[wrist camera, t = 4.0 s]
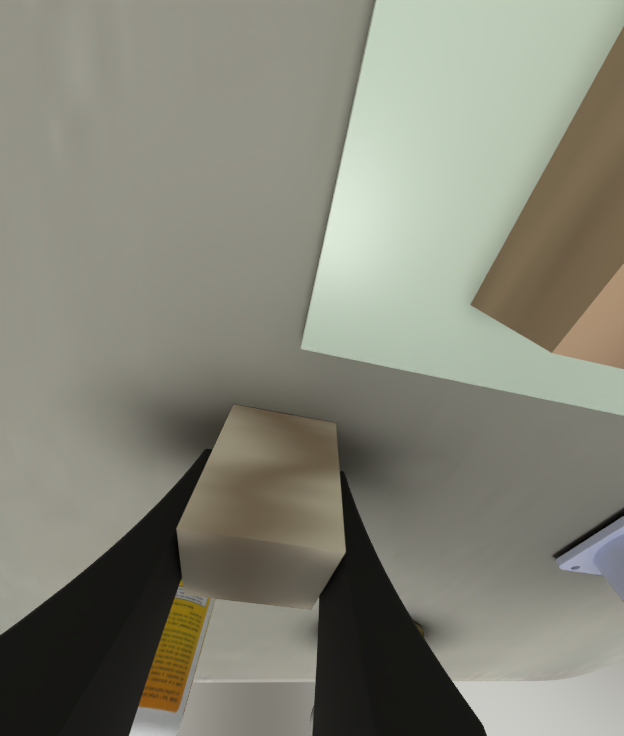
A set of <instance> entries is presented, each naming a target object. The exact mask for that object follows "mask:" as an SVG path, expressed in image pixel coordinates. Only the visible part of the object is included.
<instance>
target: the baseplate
mask: <svg viewBox="0 0 624 736" xmlns="http://www.w3.org/2000/svg"><path fill="white" fill-rule="evenodd" d="M623 26H624V0H375V2H374V6H373V11H372V16H371V20H370V25H369V29H368V34H367V39H366V43H365V48H364V53H363V57H362V62H361V67H360V71H359V76H358V81H357V85H356V90H355V95H354V99H353V104H352V109H351V113H350V118H349V123H348V127H347V132H346V137H345V141H344V146H343V151H342V155H341V160H340V164H339V169H338V174H337V178H336V183H335V188H334V192H333V197H332V202H331V206H330V211H329V216H328V220H327V225H326V230H325V234H324V239H323V244H322V248H321V253H320V258H319V262H318V267H317V272H316V276H315V281H314V286H313V290H312V295H311V299H310V304H309V309H308V313H307V318H306V323H305V327H304V332H303V337H302V344H301V349H303V350H308V351H313V352H318V353H323V354H328V355H332V356H337V357H342V358H347V359H352V360H357V361H362V362H366V363H371V364H376V365H381V366H386V367H391V368H395V369H400V370H405V371H410V372H415V373H420V374H425V375H429V376H434V377H439V378H444V379H449V380H454V381H458V382H463V383H468V384H473V385H478V386H483V387H488V388H492V389H497V390H502V391H507V392H512V393H517V394H521V395H526V396H531V397H536V398H541V399H546V400H551V401H555V402H560V403H565V404H570V405H575V406H580V407H584V408H589V409H594V410H599V411H604V412H609V413H614V414H618V415H623V416H624V369H620V368H616V367H612V366H607V365H603V364H598V363H594V362H589V361H585V360H580V359H576V358H571V357H567V356H563V355H558V354H554V353H551V352H549V351H547V350H546V349H544V348H542V347H541V346H539V345H537V344H536V343H534V342H532V341H531V340H529V339H527V338H525V337H524V336H522V335H520V334H519V333H517V332H515V331H514V330H512V329H510V328H509V327H507V326H505V325H503V324H502V323H500V322H498V321H497V320H495V319H493V318H492V317H490V316H488V315H487V314H485V313H483V312H481V311H480V310H478V309H476V308H475V307H473V306H471V305H470V304H471V302H472V301H473V299H474V297H475V295H476V293H477V292H478V290H479V288H480V286H481V284H482V282H483V281H484V279H485V277H486V275H487V273H488V272H489V270H490V268H491V266H492V264H493V262H494V261H495V259H496V257H497V255H498V253H499V252H500V250H501V248H502V246H503V244H504V243H505V241H506V239H507V237H508V235H509V233H510V232H511V230H512V228H513V226H514V224H515V223H516V221H517V219H518V217H519V215H520V213H521V212H522V210H523V208H524V206H525V204H526V203H527V201H528V199H529V197H530V195H531V193H532V192H533V190H534V188H535V186H536V184H537V183H538V181H539V179H540V177H541V175H542V173H543V172H544V170H545V168H546V166H547V164H548V163H549V161H550V159H551V157H552V155H553V154H554V152H555V150H556V148H557V146H558V144H559V143H560V141H561V139H562V137H563V135H564V134H565V132H566V130H567V128H568V126H569V124H570V123H571V121H572V119H573V117H574V115H575V114H576V112H577V110H578V108H579V106H580V104H581V103H582V101H583V99H584V97H585V95H586V94H587V92H588V90H589V88H590V86H591V85H592V83H593V81H594V79H595V77H596V75H597V74H598V72H599V70H600V68H601V66H602V65H603V63H604V61H605V59H606V57H607V55H608V54H609V52H610V50H611V48H612V46H613V45H614V43H615V41H616V39H617V37H618V35H619V34H620V32H621V30H622V28H623Z"/></svg>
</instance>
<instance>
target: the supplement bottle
mask: <svg viewBox="0 0 624 736" xmlns="http://www.w3.org/2000/svg"><path fill="white" fill-rule="evenodd" d="M214 602H215V599H214V598H205V597H196V596H188V595H184V589H183V580H182V579H181V582H180V584H179V587H178V590H177V593H176V596H175V599H174V601H173V604H172V607H171V610H170V613H169V616H168V619H167V622H166V625H165V628H164V630H163V633H162V636H161V639H160V642H159V645H158V648H157V651H156V654H155V657H154V660H153V663H152V666H151V669H150V672H149V675H148V678H147V681H146V684H145V688H144V691H143V694H142V697H141V700H140V703H139V706H138V709H137V712H136V716H135V719H134V722H133V725H132V728H131V731H130V734H129V736H176V735H177V733H178V730H179V727H180V724H181V721H182V718H183V715H184V711H185V707H186V703H187V700H188V697H189V693H190V689H191V685H192V682H193V678H194V675H195V671H196V667H197V664H198V660H199V656H200V653H201V649H202V646H203V642H204V638H205V635H206V631H207V628H208V624H209V620H210V617H211V613H212V610H213V606H214Z"/></svg>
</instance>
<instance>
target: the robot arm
mask: <svg viewBox="0 0 624 736" xmlns="http://www.w3.org/2000/svg"><path fill="white" fill-rule="evenodd" d="M211 452H212V449H206V450H204V451H203V453H202V454H201V455H200V457H199V458H198V459H197V460H196V462H195V463H194V464H193V465H192V466H191V468H190V469H189V470H188V471H187V472H186V473H185V475H184V476H183V477H182V478H181V479H180V480H179V481H178V483H177V484H176V485H175V486H174V487H173V488H172V489H171V490H170V491H169V492H168V493H167V494H166V496H165V497H164V498H163V499H162V500H161V501H160V502H159V503H158V504H157V505H156V506H155V507H154V508H153V509H152V510H151V511H150V512H149V513H148V514H147V515H146V516H145V517H144V518H143V519H142V520H141V521H140V522H139V523H138V524H137V525H135V526H134V527H133V528H132V529H131V530H130V531H129V532H128V533H127V534H126V535H125V536H124V537H122V538H121V539H120V540H119V541H118V542H117V543H116V544H115V545H114V546H112V547H111V548H110V549H109V550H108V551H107V552H106V553H104V554H103V555H102V556H101V557H100V558H98V559H97V560H96V561H95V562H94V563H93V564H91V565H90V566H89V567H88V568H87V569H85V570H84V571H83V572H82V573H81V574H79V575H78V576H77V577H76V578H75V579H73V580H72V581H71V582H70V583H68V584H67V585H66V586H65V587H63V588H62V589H61V590H59V591H58V592H57V593H56V594H54V595H53V596H52V597H50V598H49V599H48V600H46V601H45V602H44V603H43V604H41V605H40V606H39V607H37V608H36V609H35V610H33V611H32V612H31V613H30V614H28V615H27V616H26V617H24V618H23V619H22V620H20V621H19V622H18V623H16V624H15V625H14V626H12V627H11V628H10V629H8V630H7V631H6V632H4V633H3V634H1V635H0V736H129V734H130V731H131V728H132V725H133V722H134V719H135V716H136V712H137V709H138V706H139V703H140V700H141V697H142V694H143V691H144V688H145V684H146V681H147V678H148V675H149V672H150V669H151V666H152V663H153V660H154V657H155V654H156V651H157V648H158V645H159V642H160V639H161V636H162V633H163V630H164V628H165V625H166V622H167V619H168V616H169V613H170V610H171V607H172V604H173V601H174V599H175V596H176V593H177V590H178V587H179V584H180V582H181V579H182V572H181V564H180V555H179V547H178V538H177V530H176V528H177V526H178V524H179V522H180V520H181V517H182V515H183V513H184V511H185V509H186V507H187V504H188V502H189V500H190V498H191V496H192V494H193V491H194V489H195V487H196V485H197V483H198V481H199V478H200V476H201V474H202V472H203V470H204V468H205V465H206V463H207V461H208V459H209V457H210V454H211ZM340 482H341V496H342V509H343V522H344V535H345V548H346V552H345V554H344V556H343V557H342V559H341V561H340V562H339V564H338V566H337V567H336V569H335V571H334V572H333V574H332V576H331V577H330V579H329V581H328V582H327V584H326V586H325V587H324V589H323V591H322V592H321V594H320V596H319V623H318V646H317V667H316V686H315V702H314V717H313V731H312V736H487V735H486V732H485V729H484V727H483V725H482V723H481V722H480V720H479V719H478V717H477V716H476V715H475V713H474V712H473V710H472V709H471V707H470V706H469V705H468V703H467V702H466V700H465V699H464V698H463V696H462V695H461V693H460V692H459V690H458V689H457V688H456V686H455V685H454V683H453V682H452V680H451V679H450V677H449V676H448V675H447V673H446V672H445V670H444V668H443V667H442V665H441V664H440V662H439V661H438V659H437V658H436V656H435V655H434V653H433V652H432V650H431V649H430V647H429V646H428V644H427V642H426V641H425V639H424V638H423V636H422V634H421V633H420V631H419V629H418V628H417V626H416V625H415V623H414V621H413V620H412V618H411V616H410V615H409V613H408V612H407V610H406V608H405V606H404V605H403V603H402V601H401V599H400V598H399V596H398V594H397V592H396V591H395V589H394V587H393V585H392V583H391V581H390V579H389V578H388V576H387V574H386V572H385V570H384V568H383V566H382V564H381V562H380V560H379V558H378V556H377V554H376V552H375V549H374V547H373V545H372V543H371V541H370V539H369V536H368V534H367V532H366V530H365V527H364V525H363V522H362V520H361V518H360V515H359V513H358V510H357V508H356V505H355V502H354V500H353V497H352V494H351V491H350V488H349V485H348V482H347V479H346V476H345V473H344V472H343V471H340ZM555 562H556V564H557V565H558V567H559V568H560V569H562V570H568V571H575V572H582V573H589V574H596V575H603V576H604V578H605V579H606V580H607V581H608V583H609V584H610V585H611V587H612V588H613V589H614V590H615V592H616V593H617V594H618V595H619V597H620V598H621V599H622V601H623V602H624V516H623V517H621V518H619V519H618V520H616V521H615V522H613V523H612V524H610V525H609V526H607V527H605V528H604V529H602V530H601V531H599V532H598V533H596V534H594V535H593V536H591V537H590V538H588V539H587V540H585V541H584V542H582V543H580V544H579V545H577V546H576V547H574V548H573V549H571V550H570V551H568V552H566V553H565V554H563V555H562V556H560V557H559V558H557V559H556V561H555Z"/></svg>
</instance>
